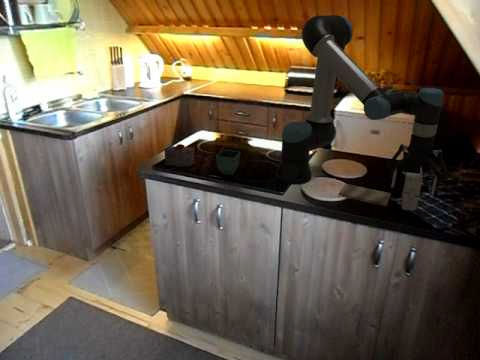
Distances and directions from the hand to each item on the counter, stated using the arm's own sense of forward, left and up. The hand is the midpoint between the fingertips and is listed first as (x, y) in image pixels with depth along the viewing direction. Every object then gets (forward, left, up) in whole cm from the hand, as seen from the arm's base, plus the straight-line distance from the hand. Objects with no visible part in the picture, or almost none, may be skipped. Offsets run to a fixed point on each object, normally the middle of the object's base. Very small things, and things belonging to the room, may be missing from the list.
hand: (412, 190), depth 141 cm
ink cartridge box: (0, 0, -7) cm, 7 cm away
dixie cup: (-4, +33, -7) cm, 34 cm away
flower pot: (-74, -7, -7) cm, 75 cm away
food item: (-98, -10, -7) cm, 99 cm away
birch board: (-16, 0, -7) cm, 18 cm away
